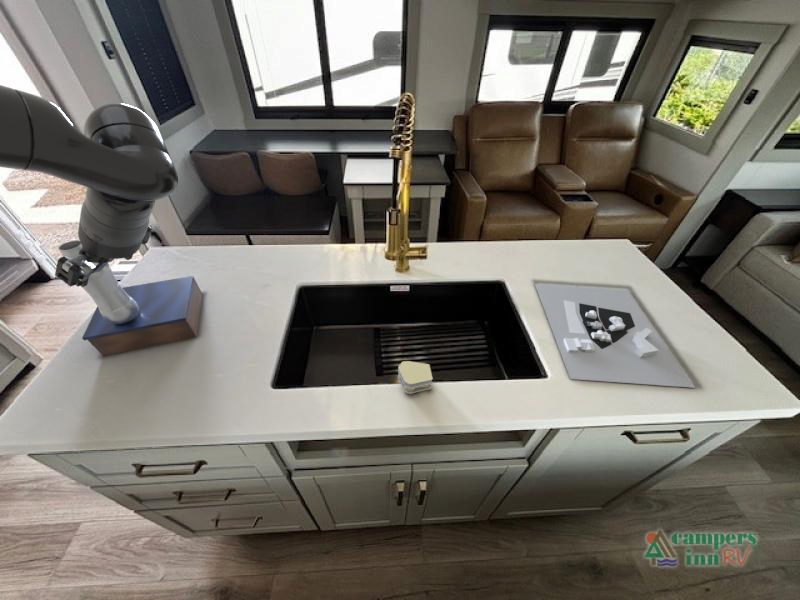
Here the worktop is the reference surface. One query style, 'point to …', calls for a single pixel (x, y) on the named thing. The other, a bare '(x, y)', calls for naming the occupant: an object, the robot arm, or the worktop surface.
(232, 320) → the worktop surface
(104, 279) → the plastic bottle
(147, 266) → the worktop surface
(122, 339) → the lidded box
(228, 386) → the worktop surface
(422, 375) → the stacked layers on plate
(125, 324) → the box lid
